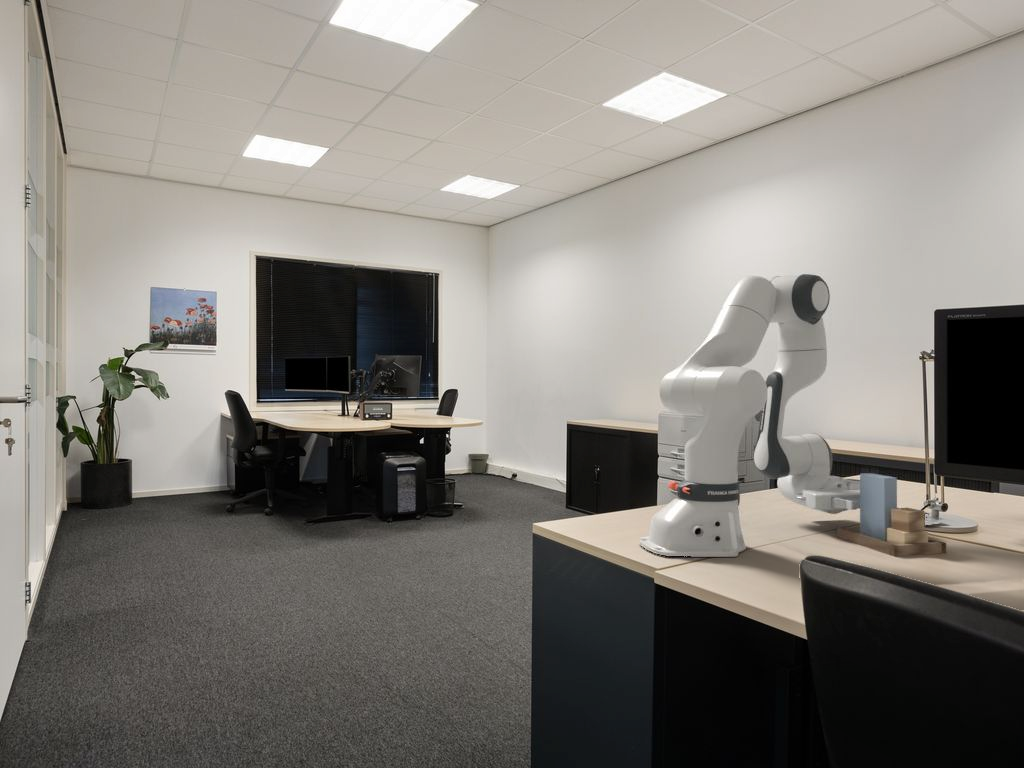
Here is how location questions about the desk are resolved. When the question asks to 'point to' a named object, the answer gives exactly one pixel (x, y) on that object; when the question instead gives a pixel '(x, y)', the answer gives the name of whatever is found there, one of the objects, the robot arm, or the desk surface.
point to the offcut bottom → (906, 537)
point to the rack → (893, 549)
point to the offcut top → (908, 520)
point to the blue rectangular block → (877, 504)
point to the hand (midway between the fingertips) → (873, 505)
